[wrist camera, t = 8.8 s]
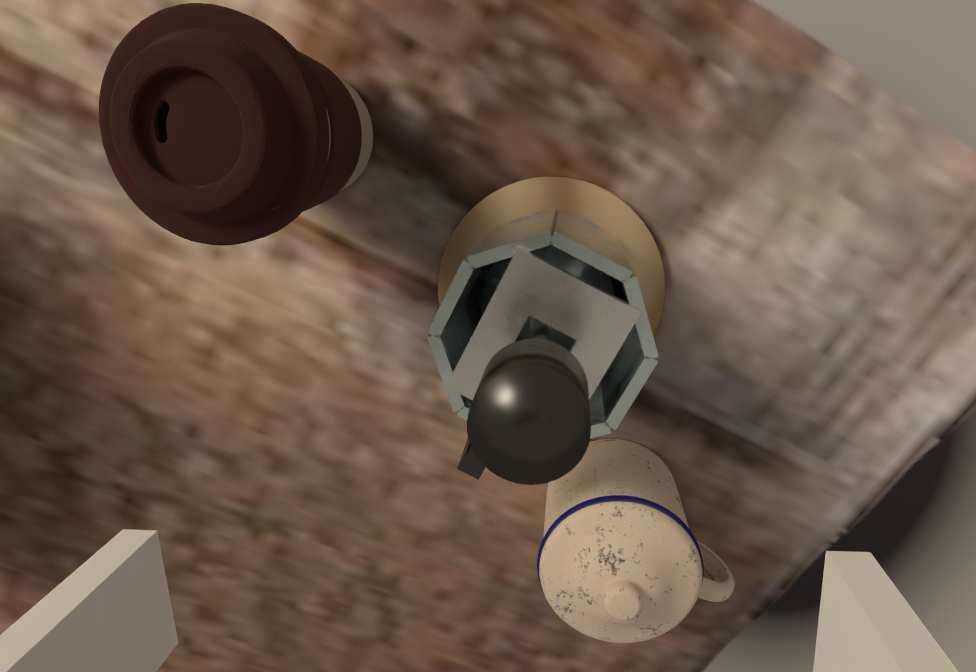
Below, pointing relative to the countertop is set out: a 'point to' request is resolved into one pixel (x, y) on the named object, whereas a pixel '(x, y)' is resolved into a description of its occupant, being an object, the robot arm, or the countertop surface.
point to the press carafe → (546, 315)
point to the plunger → (533, 393)
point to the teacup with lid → (623, 547)
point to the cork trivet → (573, 200)
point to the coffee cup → (226, 125)
